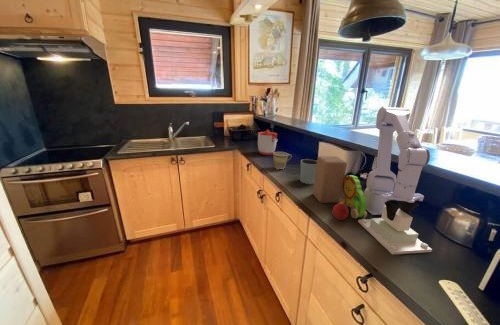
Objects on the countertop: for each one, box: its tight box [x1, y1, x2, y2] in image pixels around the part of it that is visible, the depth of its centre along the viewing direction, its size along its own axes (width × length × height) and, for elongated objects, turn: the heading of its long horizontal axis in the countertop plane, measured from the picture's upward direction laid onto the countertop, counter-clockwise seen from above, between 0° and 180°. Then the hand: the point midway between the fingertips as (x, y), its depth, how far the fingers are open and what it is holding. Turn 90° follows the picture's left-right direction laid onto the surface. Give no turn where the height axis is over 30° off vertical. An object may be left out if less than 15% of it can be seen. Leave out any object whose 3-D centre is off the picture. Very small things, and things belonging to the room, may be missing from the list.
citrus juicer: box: [257, 129, 278, 156], centre depth 172 cm, size 16×17×20 cm
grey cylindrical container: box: [299, 158, 317, 185], centre depth 120 cm, size 10×10×12 cm
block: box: [312, 155, 347, 204], centre depth 99 cm, size 10×10×20 cm
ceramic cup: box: [272, 151, 293, 170], centre depth 141 cm, size 13×10×10 cm
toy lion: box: [338, 174, 368, 219], centre depth 90 cm, size 16×5×15 cm, turn 5°
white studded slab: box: [357, 217, 433, 255], centre depth 76 cm, size 18×14×4 cm
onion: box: [332, 202, 349, 221], centre depth 84 cm, size 6×6×8 cm
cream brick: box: [380, 206, 413, 231], centre depth 74 cm, size 8×4×5 cm, turn 7°
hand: (395, 218), depth 74 cm, fingers open, 4 cm apart
